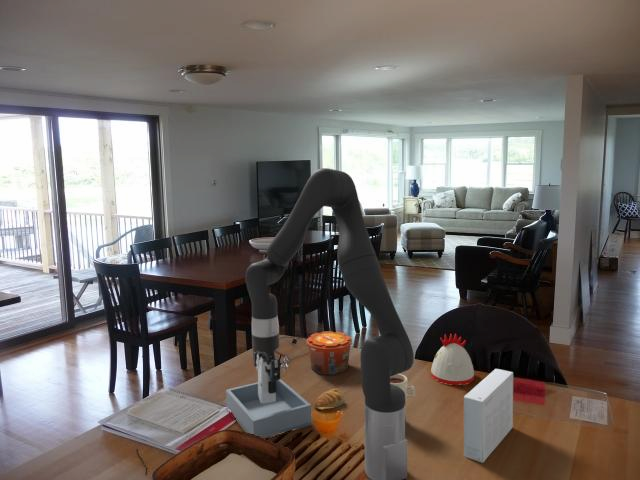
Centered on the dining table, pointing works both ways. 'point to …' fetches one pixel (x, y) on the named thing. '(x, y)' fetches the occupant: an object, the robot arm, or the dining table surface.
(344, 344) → the food container
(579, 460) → the dining table surface
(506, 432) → the skincare box
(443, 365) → the chicken hat
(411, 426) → the dining table surface
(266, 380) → the skincare box
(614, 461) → the dining table surface
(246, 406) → the tote
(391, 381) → the character mug
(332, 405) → the pastry
